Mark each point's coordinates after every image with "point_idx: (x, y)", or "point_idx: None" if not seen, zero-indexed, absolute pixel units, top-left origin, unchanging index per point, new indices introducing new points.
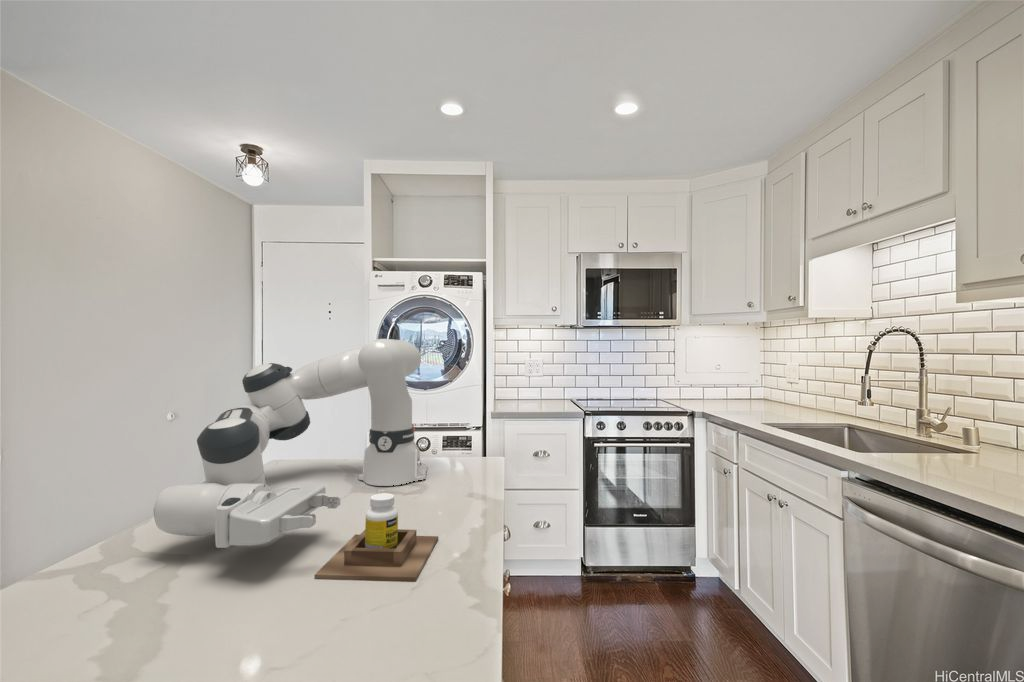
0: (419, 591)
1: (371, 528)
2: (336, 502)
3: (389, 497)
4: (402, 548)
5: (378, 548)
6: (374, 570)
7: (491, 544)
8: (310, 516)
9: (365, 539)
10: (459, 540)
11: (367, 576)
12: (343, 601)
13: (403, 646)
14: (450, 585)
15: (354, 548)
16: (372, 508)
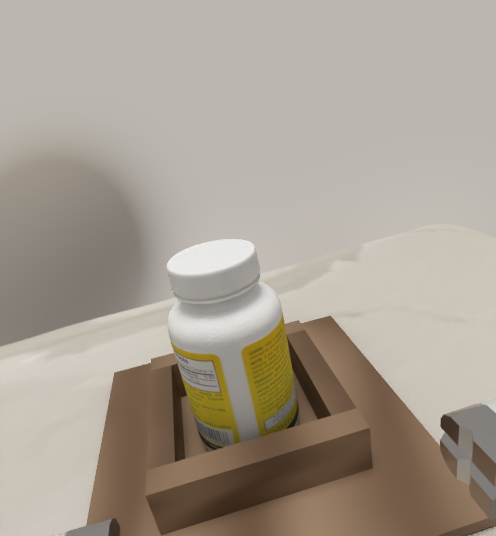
0: (358, 305)
1: (285, 338)
2: (119, 533)
3: (217, 242)
4: None
5: (302, 362)
6: (347, 382)
7: (145, 309)
8: (493, 403)
9: (278, 402)
10: (123, 348)
11: (382, 378)
12: (492, 370)
13: (488, 262)
14: (315, 290)
15: (336, 412)
16: (249, 294)
